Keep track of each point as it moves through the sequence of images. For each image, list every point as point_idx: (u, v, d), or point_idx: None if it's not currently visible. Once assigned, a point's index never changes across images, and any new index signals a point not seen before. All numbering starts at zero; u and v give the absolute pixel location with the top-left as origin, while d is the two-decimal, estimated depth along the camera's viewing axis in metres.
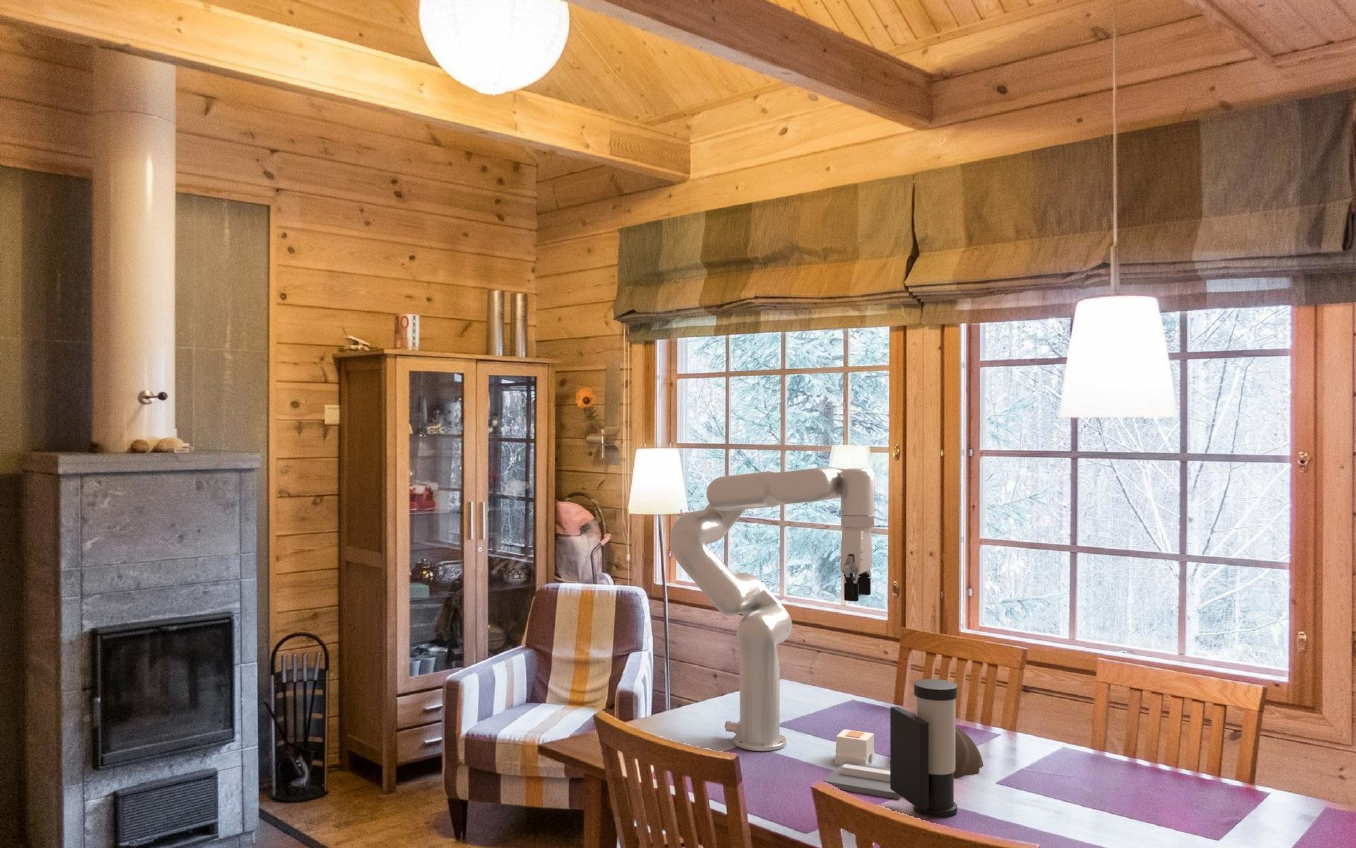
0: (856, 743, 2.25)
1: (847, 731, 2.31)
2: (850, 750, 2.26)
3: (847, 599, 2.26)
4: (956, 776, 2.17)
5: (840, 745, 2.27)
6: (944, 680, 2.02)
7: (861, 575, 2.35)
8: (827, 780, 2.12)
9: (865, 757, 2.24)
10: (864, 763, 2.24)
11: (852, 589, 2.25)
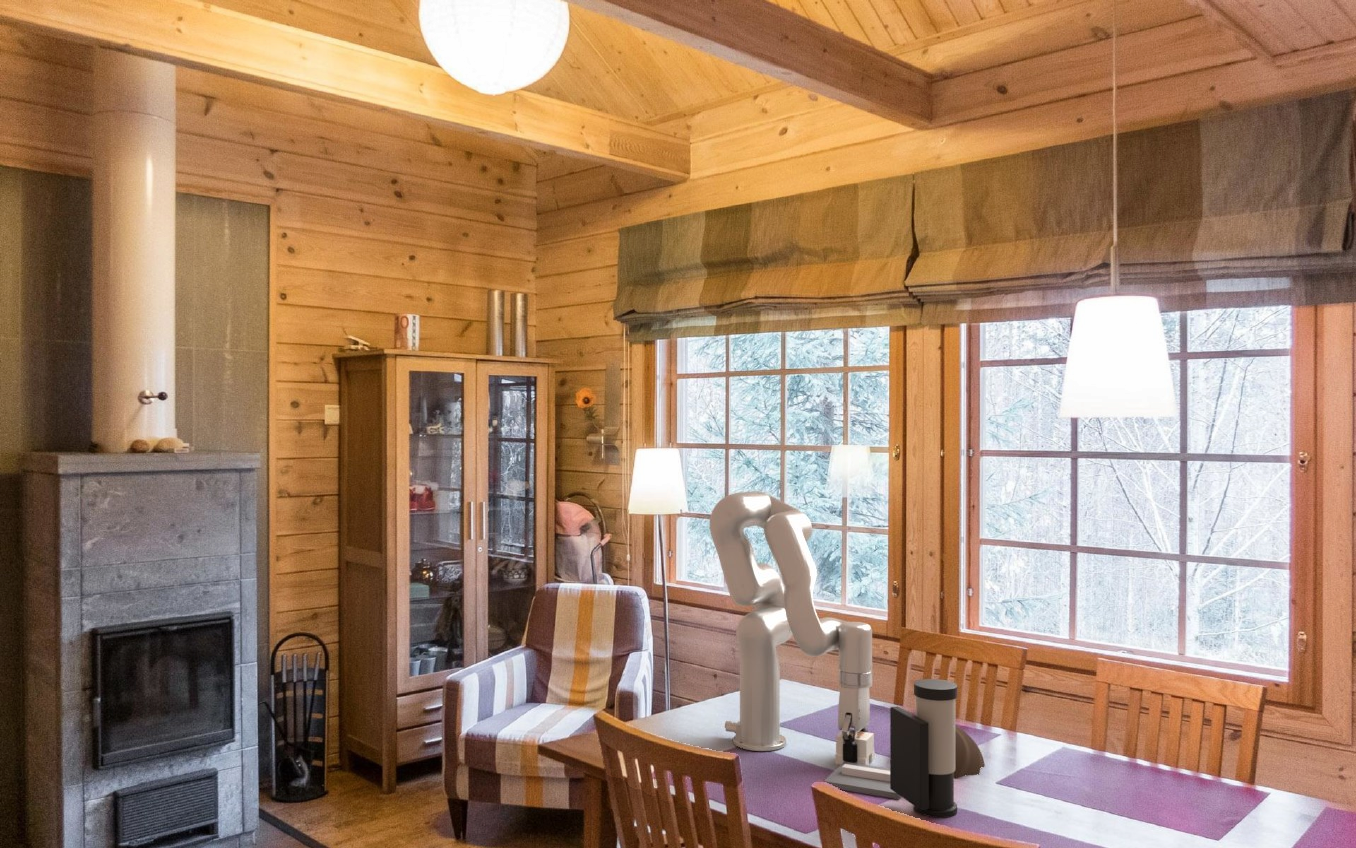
0: (856, 743, 2.25)
1: None
2: None
3: (846, 760, 2.25)
4: (956, 776, 2.17)
5: (840, 745, 2.27)
6: (944, 680, 2.02)
7: None
8: (827, 780, 2.12)
9: (865, 757, 2.24)
10: (864, 763, 2.24)
11: (851, 750, 2.24)
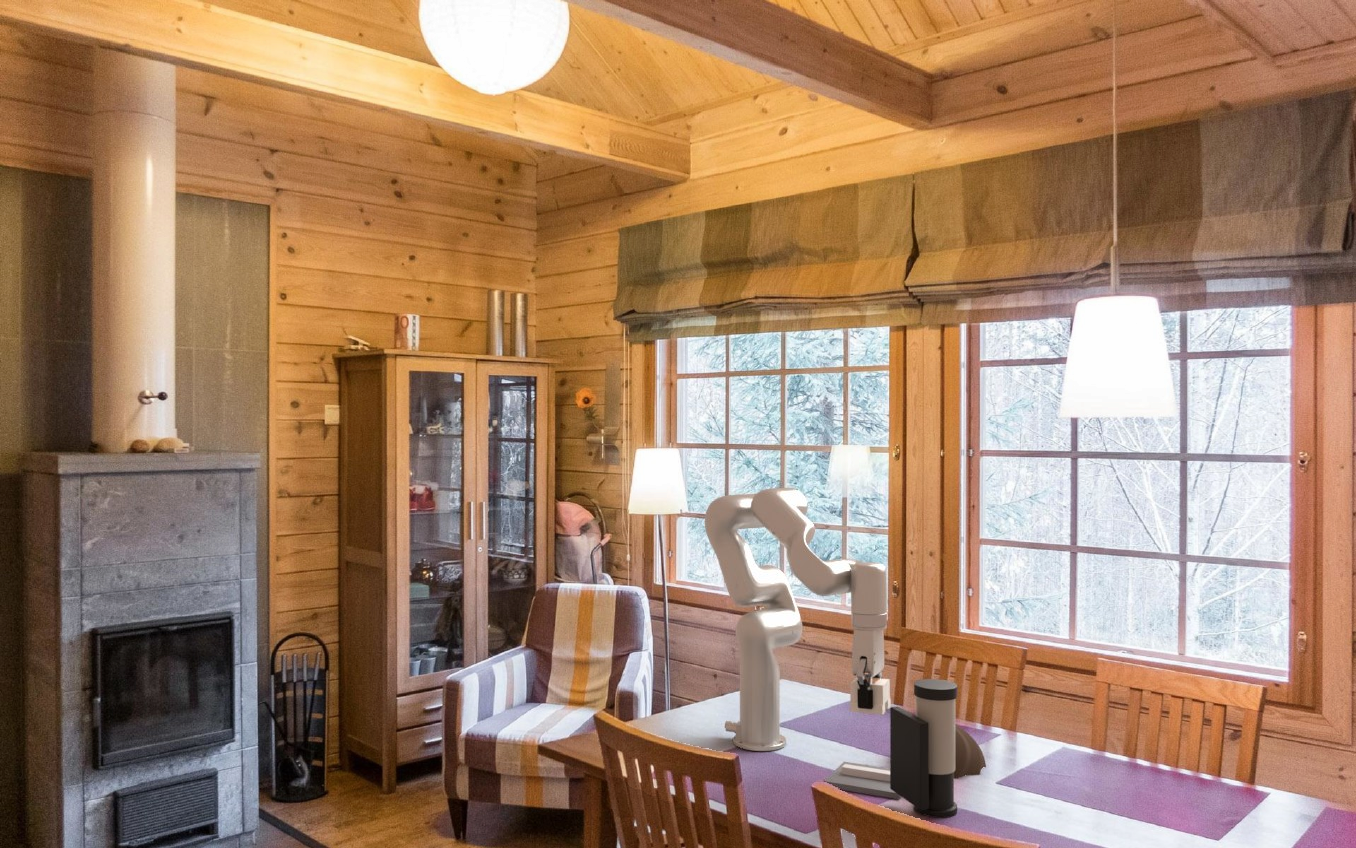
0: (871, 688, 2.13)
1: None
2: None
3: (861, 706, 2.13)
4: (956, 776, 2.17)
5: (854, 692, 2.15)
6: (944, 680, 2.02)
7: None
8: (827, 780, 2.12)
9: (881, 703, 2.12)
10: (881, 709, 2.12)
11: (866, 696, 2.12)
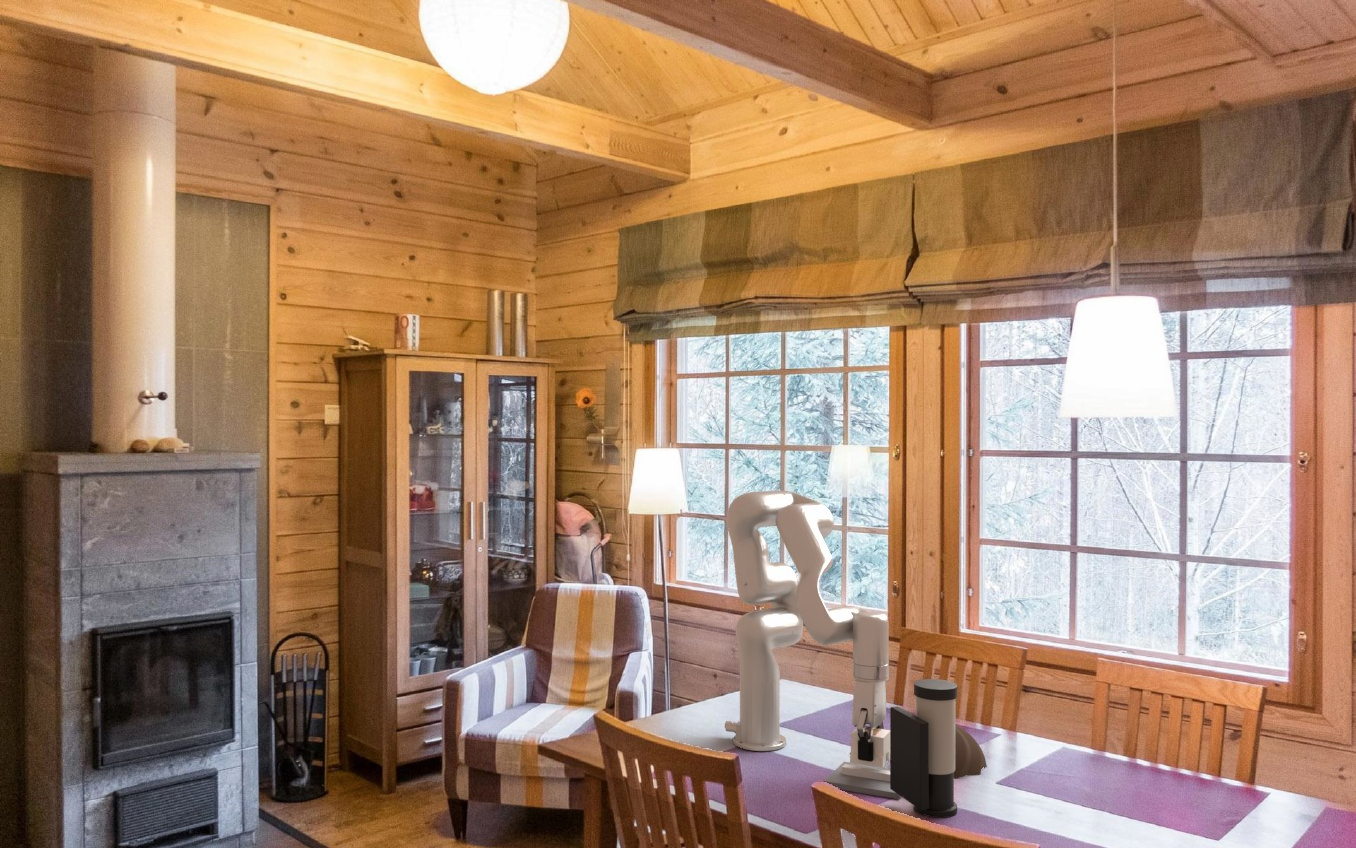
0: (872, 740, 2.11)
1: None
2: None
3: (861, 758, 2.11)
4: (956, 776, 2.17)
5: (855, 743, 2.13)
6: (944, 680, 2.02)
7: None
8: (827, 780, 2.12)
9: (882, 755, 2.10)
10: (881, 762, 2.10)
11: (866, 748, 2.10)
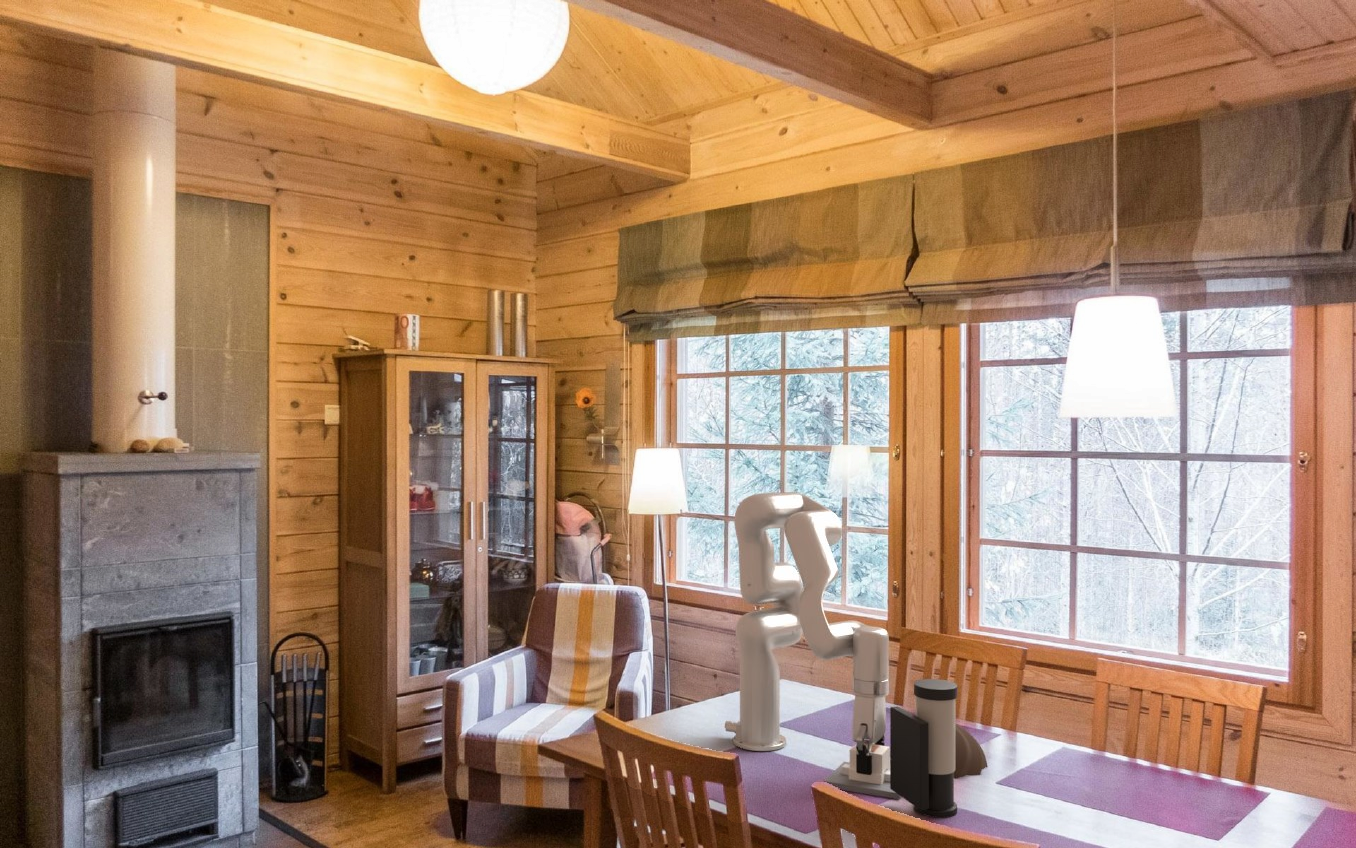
0: None
1: None
2: None
3: (859, 772, 2.10)
4: (956, 776, 2.17)
5: (854, 760, 2.13)
6: (944, 680, 2.02)
7: None
8: (827, 780, 2.12)
9: (881, 772, 2.11)
10: (880, 779, 2.10)
11: (865, 762, 2.09)
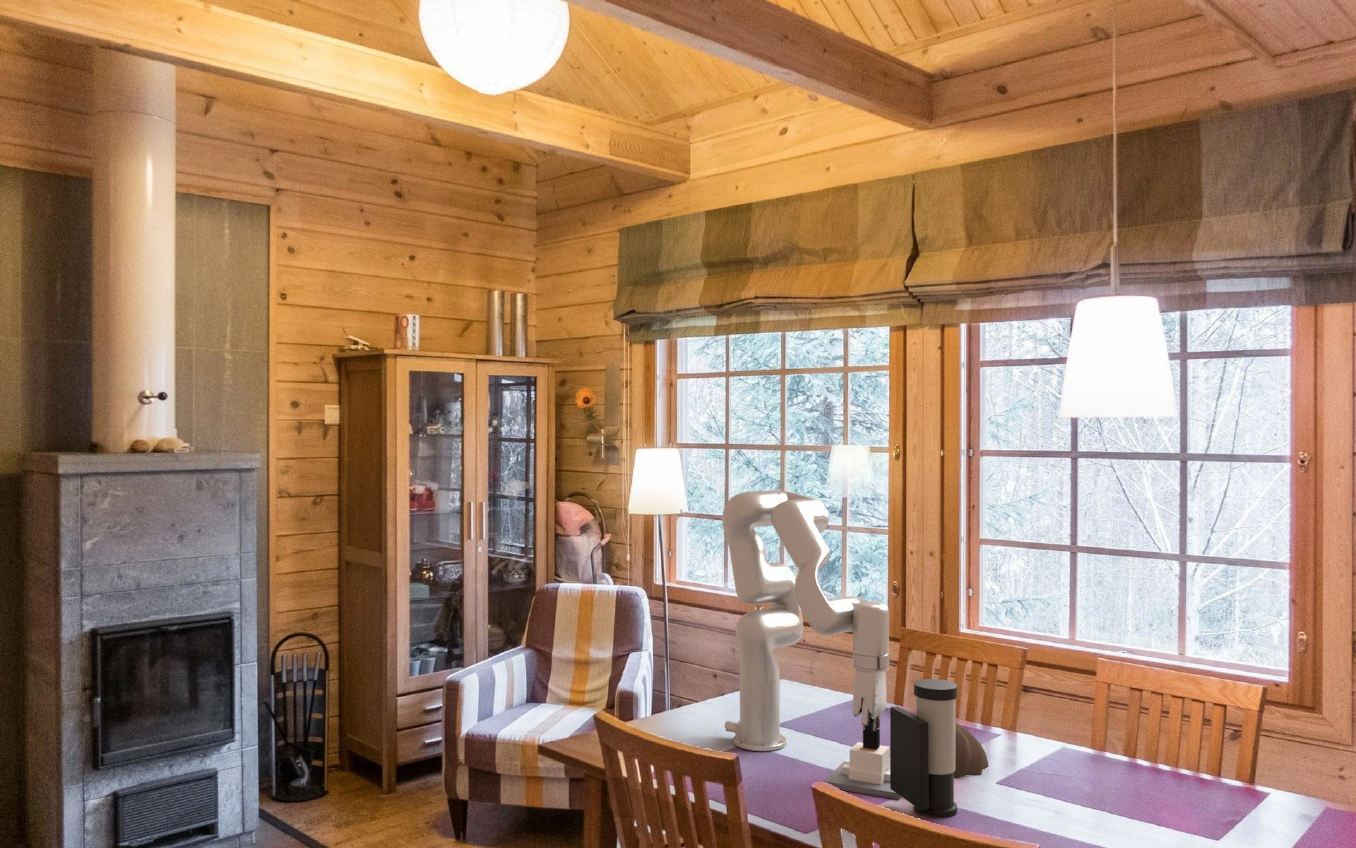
0: (871, 757, 2.12)
1: (861, 744, 2.17)
2: (864, 765, 2.12)
3: (866, 747, 2.14)
4: (956, 776, 2.17)
5: (854, 760, 2.13)
6: (944, 680, 2.02)
7: None
8: (827, 780, 2.12)
9: (881, 772, 2.11)
10: (880, 779, 2.10)
11: (871, 737, 2.13)
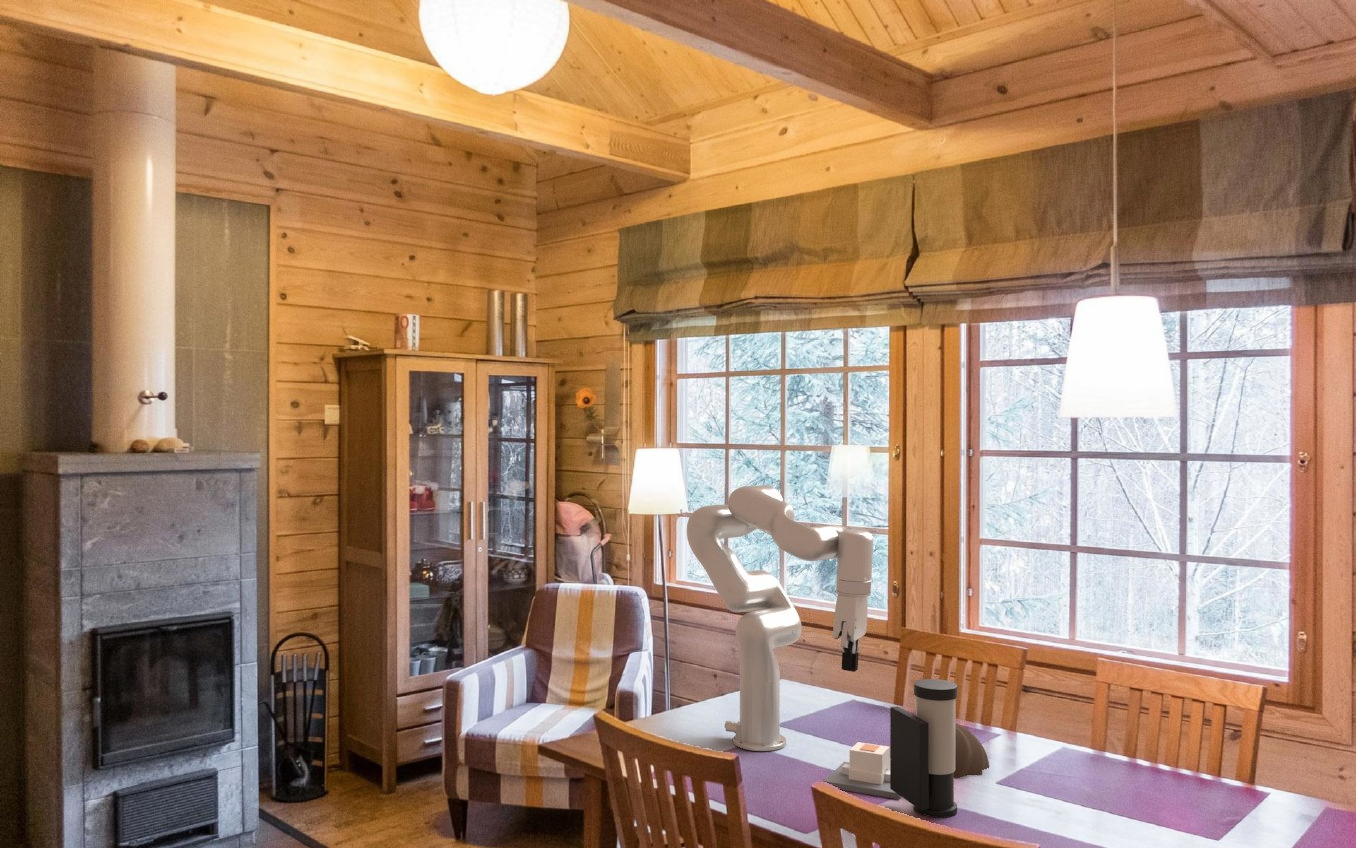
0: (871, 757, 2.12)
1: (861, 744, 2.17)
2: (864, 765, 2.12)
3: (844, 668, 2.22)
4: (956, 776, 2.17)
5: (854, 760, 2.13)
6: (944, 680, 2.02)
7: None
8: (827, 780, 2.12)
9: (881, 772, 2.11)
10: (880, 779, 2.10)
11: (850, 659, 2.20)
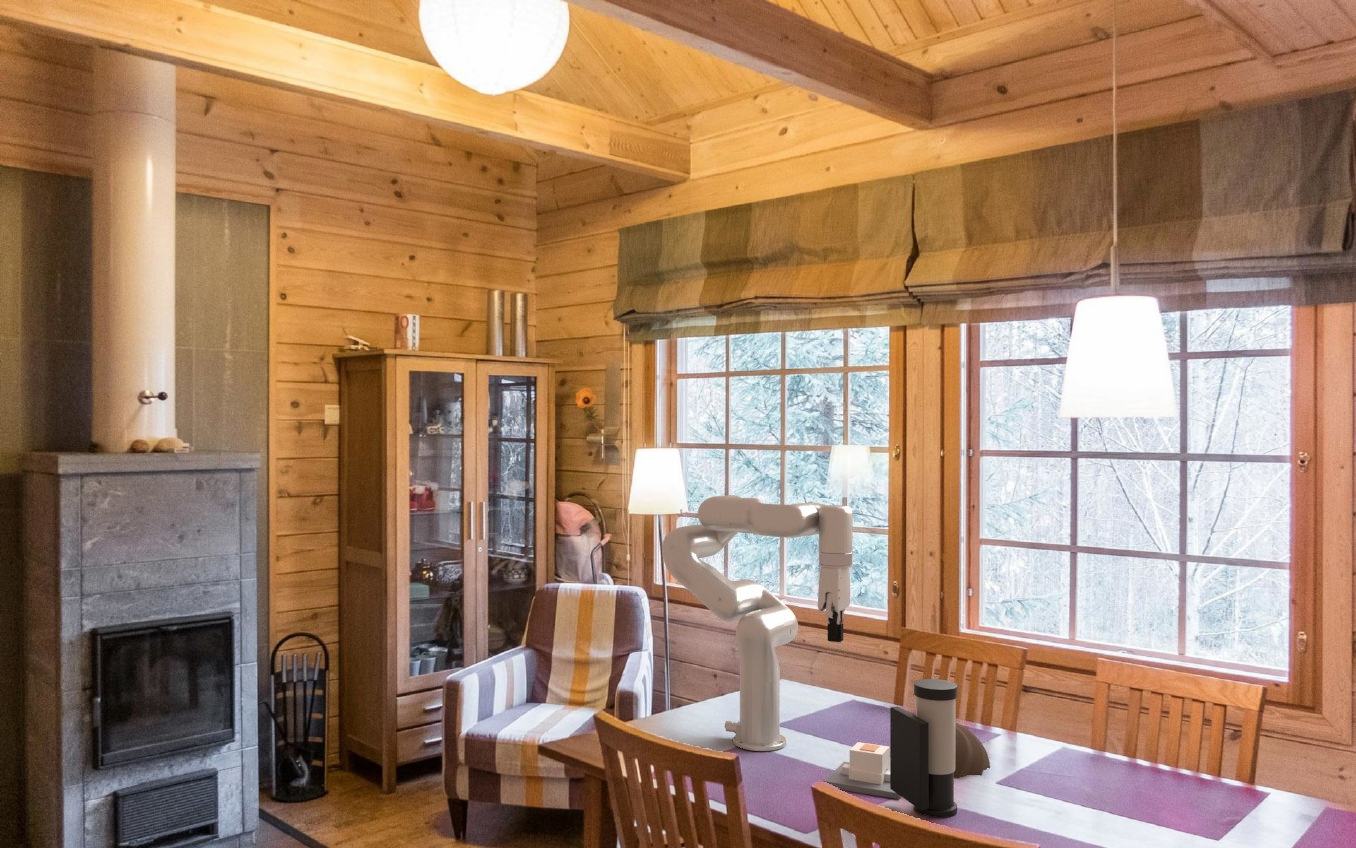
0: (871, 757, 2.12)
1: (861, 744, 2.17)
2: (864, 765, 2.12)
3: (830, 640, 2.28)
4: (956, 776, 2.17)
5: (854, 760, 2.13)
6: (944, 680, 2.02)
7: None
8: (827, 780, 2.12)
9: (881, 772, 2.11)
10: (880, 779, 2.10)
11: (835, 630, 2.27)
